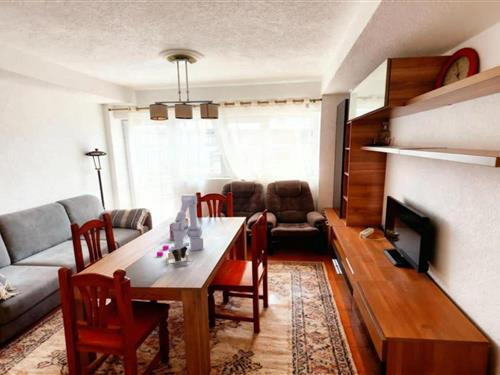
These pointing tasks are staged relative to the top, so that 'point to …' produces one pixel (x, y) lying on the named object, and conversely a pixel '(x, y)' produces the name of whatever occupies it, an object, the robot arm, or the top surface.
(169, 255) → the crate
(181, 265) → the mat
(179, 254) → the walnut block
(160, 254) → the toy block
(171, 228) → the gum box
